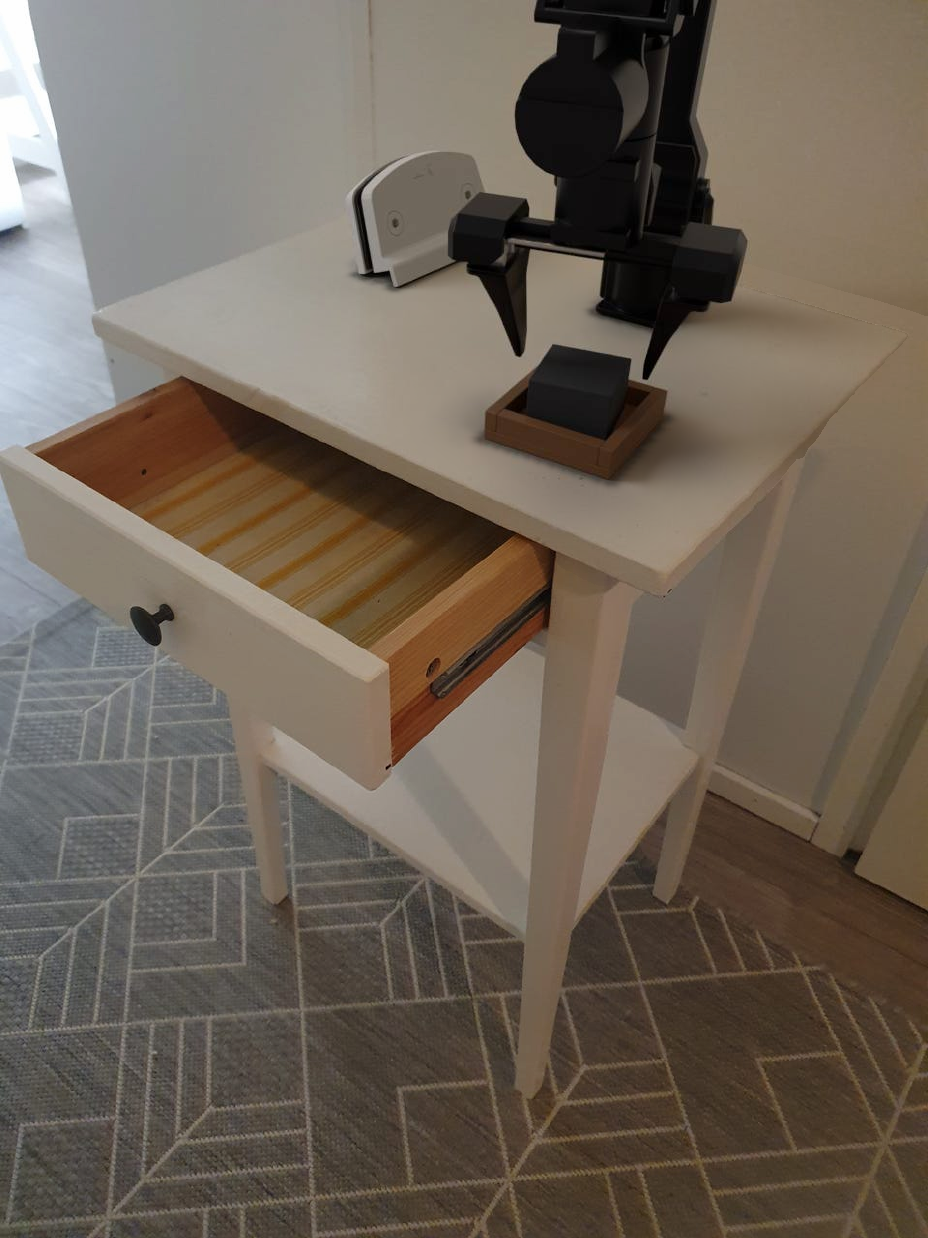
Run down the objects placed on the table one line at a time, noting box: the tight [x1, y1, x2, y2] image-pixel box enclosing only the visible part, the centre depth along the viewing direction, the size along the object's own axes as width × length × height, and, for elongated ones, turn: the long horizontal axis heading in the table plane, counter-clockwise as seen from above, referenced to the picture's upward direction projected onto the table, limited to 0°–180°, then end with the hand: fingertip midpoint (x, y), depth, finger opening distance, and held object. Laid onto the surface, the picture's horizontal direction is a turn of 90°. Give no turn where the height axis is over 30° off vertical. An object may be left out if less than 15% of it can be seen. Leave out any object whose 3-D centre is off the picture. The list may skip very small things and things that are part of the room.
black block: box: [526, 343, 633, 441], centre depth 70 cm, size 6×6×4 cm
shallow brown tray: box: [483, 364, 669, 480], centre depth 71 cm, size 10×10×2 cm
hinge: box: [345, 150, 486, 288], centre depth 94 cm, size 17×5×10 cm, turn 140°
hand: (582, 365), depth 69 cm, fingers open, 9 cm apart
